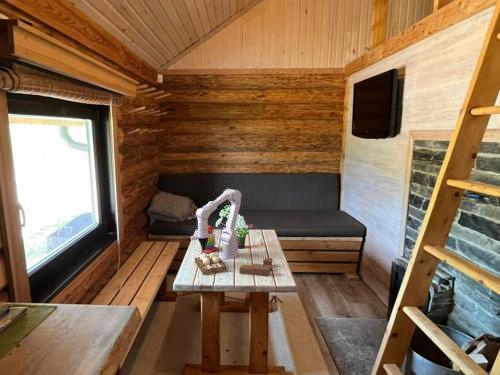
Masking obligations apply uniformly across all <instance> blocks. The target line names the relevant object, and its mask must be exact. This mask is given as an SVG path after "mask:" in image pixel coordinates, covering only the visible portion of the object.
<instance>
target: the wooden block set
mask: <svg viewBox="0 0 500 375" xmlns="http://www.w3.org/2000/svg"><path fill="white" fill-rule="evenodd" d="M262 263H263V264H262ZM262 263H261V264H259V263H251V264H242V265H240V266H239V271H238V272H239V274H241V275H252V276H259V277H260V276H262V277H269V276H270V275H271V272H272V271H273V269H274V268H273V267H274V266H273V257H267V258H264V260H263V261H262Z"/></svg>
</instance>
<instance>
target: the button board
mask: <svg viewBox="0 0 500 375" xmlns="http://www.w3.org/2000/svg"><path fill="white" fill-rule="evenodd" d="M216 256H218V254H216ZM207 258H210V255H207ZM194 263H195V265H196V266H197V268H198V269H199V271H200V272H201V274H202V275H203V276H206V275H211V274H217V273H222V272H227V271H228V266H227V265H226V263H225V262H224V261H223V260H222V259H221V258H220V257H219V263H217V264H213V260H210V265H206V266H204V265H203V262H201V261H200V256H198V257H194Z"/></svg>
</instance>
